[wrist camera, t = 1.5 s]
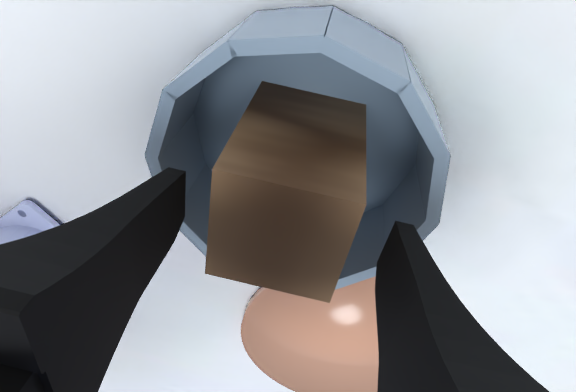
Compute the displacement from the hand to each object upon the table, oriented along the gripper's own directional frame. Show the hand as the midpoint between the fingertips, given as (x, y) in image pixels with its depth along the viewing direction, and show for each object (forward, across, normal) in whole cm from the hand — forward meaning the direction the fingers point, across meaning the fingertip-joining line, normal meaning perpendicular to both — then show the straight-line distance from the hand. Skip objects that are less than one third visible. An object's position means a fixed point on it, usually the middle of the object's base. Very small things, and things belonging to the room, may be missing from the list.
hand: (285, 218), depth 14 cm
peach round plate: (+6, -6, +14) cm, 16 cm away
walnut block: (+6, 0, 0) cm, 6 cm away
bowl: (+6, 0, 0) cm, 6 cm away
